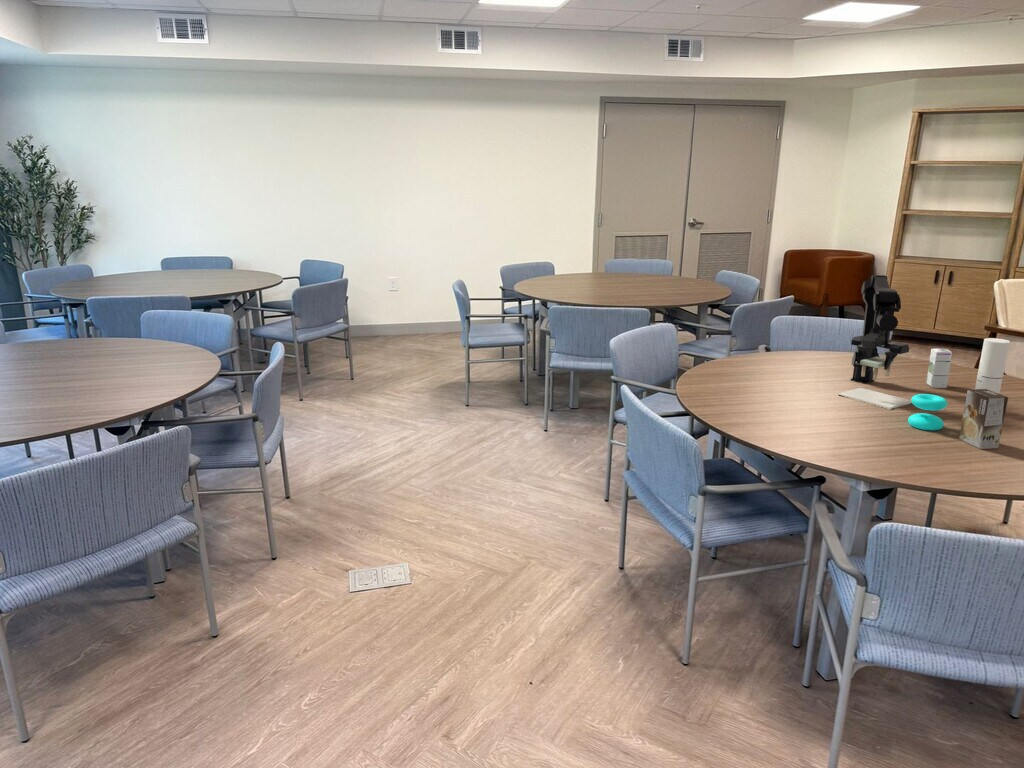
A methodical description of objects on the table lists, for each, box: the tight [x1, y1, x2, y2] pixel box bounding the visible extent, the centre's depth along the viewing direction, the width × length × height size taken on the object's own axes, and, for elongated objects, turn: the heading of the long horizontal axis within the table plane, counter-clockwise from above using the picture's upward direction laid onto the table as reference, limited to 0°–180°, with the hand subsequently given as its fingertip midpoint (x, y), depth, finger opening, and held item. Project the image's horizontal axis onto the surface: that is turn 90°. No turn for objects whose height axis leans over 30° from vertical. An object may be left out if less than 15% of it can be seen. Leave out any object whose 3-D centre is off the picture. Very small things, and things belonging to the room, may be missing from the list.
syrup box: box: [925, 347, 953, 389], centre depth 261 cm, size 6×6×14 cm
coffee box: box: [959, 388, 1009, 450], centre depth 203 cm, size 9×6×16 cm
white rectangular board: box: [837, 387, 913, 410], centre depth 248 cm, size 20×14×1 cm
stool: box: [860, 356, 895, 381], centre depth 246 cm, size 10×6×6 cm, turn 121°
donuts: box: [907, 393, 948, 431], centre depth 218 cm, size 10×10×10 cm
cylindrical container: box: [974, 337, 1011, 394], centre depth 231 cm, size 7×7×25 cm
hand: (876, 367), depth 246 cm, fingers closed on stool, 6 cm apart
